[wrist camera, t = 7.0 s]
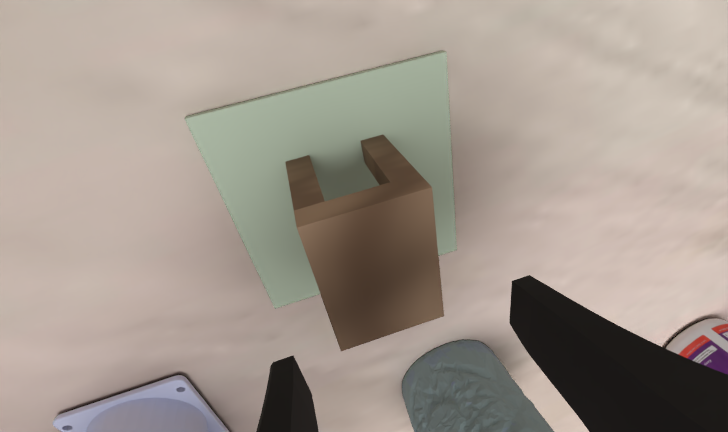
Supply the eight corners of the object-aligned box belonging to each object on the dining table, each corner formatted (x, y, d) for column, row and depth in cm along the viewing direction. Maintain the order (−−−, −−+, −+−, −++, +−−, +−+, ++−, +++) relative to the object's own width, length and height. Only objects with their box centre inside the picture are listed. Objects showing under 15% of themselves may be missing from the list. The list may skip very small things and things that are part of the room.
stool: (383, 134, 18) (432, 187, 13) (401, 243, 22) (443, 315, 17) (285, 161, 17) (296, 227, 12) (321, 268, 21) (341, 351, 16)
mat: (453, 246, 23) (456, 249, 23) (274, 303, 22) (275, 308, 22) (442, 50, 17) (446, 51, 17) (186, 116, 16) (184, 118, 15)
